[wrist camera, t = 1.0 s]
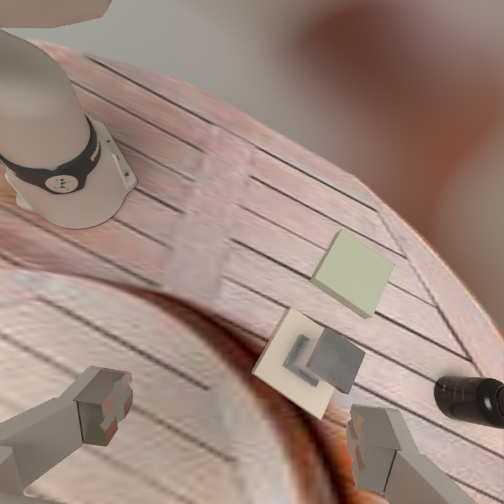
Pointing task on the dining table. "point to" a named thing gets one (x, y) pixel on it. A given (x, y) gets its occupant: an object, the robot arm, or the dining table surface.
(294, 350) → the post
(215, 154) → the dining table surface
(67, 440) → the robot arm
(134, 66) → the dining table surface
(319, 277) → the stand
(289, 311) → the stand
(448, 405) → the supplement bottle
